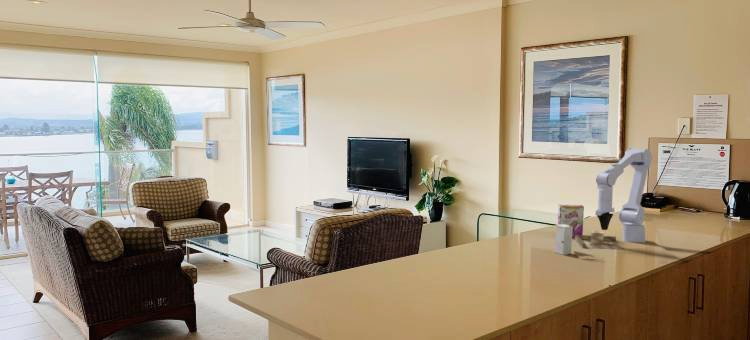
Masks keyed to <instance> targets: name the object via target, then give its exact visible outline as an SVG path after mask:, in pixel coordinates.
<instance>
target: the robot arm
mask: <svg viewBox="0 0 750 340" xmlns="http://www.w3.org/2000/svg"><path fill="white" fill-rule="evenodd" d="M652 159H653V155H652V152H651V150H650V149H649V148H645V149H644V148H643V149H642V148H628V149H626V151H625V153H624V156H623V157H622V158H621V159H620V160H619V161H618V162H614V163H613V162H612V163H611V165H610V166H609V167H608V168H607V169H606V170H604V171H602V172H599V173H597V175H596V178H595V182H596V184H597V189H598V200H597V201H598V203H597V204H598V206H597V207H598V208H597V209H596V210H595V216H596V217H597V219H598V221H599V223H600V227H601V230H602V231H607V230H608V228H609V225H610V223H611V220H612V218H613V216H614V214H613V213H615V207H613V192H614V190H613V188H614V187H613V186H615V184H616V182H617V180H618V178H619V177H620V176H622V174H623V173H624V170H625V169H626V168H627V167H628V166H629V165H630V166H631V168H633V169H634V174H633V178H632V183H631V187H630V191H629V196H628V201H627V202H626V203H624V204H623V205H622V206H621V209H620V211H619V213H618V218H619V219H618V220H619V221H620V223H621V225H622V234H621V235H622V236H621V238H622V239H621V240H622V241H623V242H627V243H646V226H645V225H644V224H643V223H644V221H645V211H646V210H645V208H644V207H643V206H642V205H641V202H642V198H643V194H644V193H643V192H644V190H645V184H646V179H647V176H648V171H649V169H650V166H651V163H652Z"/></svg>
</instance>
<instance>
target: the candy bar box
mask: <svg viewBox="0 0 750 340" xmlns="http://www.w3.org/2000/svg"><path fill="white" fill-rule="evenodd" d="M557 207H558V212H557V214H558V215H557V225H561V224H565V225H569V226H572V227H573V232H572V238H575V235H583V233H584V230H583V229H584V213H585V211H584V210H585V209H584V205H582V204H569V203H568V204H567V203H566V204H564V203H559V204H558V206H557Z"/></svg>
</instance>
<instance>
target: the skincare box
mask: <svg viewBox="0 0 750 340" xmlns="http://www.w3.org/2000/svg"><path fill="white" fill-rule="evenodd" d="M572 232H573V227H572V226H569V225H565V224H561V225H558V224H556V231H555V248H554V252H555V253H557V254H559V255H562V256H568V255H567V254H570V255H572V246H573V245H572V244H573V237H572Z"/></svg>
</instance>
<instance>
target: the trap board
mask: <svg viewBox="0 0 750 340" xmlns="http://www.w3.org/2000/svg"><path fill="white" fill-rule="evenodd" d="M574 240H575V241H576V242H577V244H579V246H580V247H581V248H582V249H588V247H586V246H590V248H591V249H596V250H597V249H598V250H619V251H620V250H623V251H624V250H625V251H626V248H625V247H624V246H622V245H621V244H620V243H619V242H618V241H617V236H615V235H614V236H613V235H611V236H610V235H603V245H602V244H591V234H590V235H589V234H588V235H586V234H585V235H575V237H574ZM604 242H610V243H604Z"/></svg>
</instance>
